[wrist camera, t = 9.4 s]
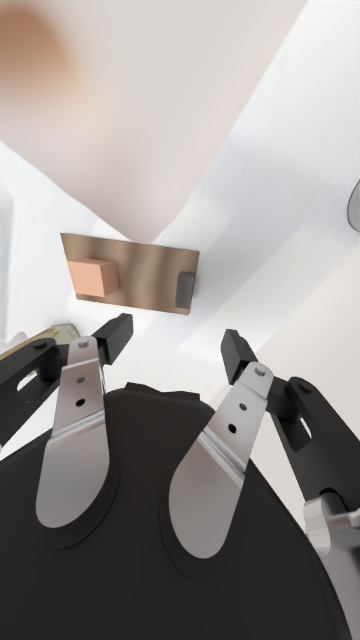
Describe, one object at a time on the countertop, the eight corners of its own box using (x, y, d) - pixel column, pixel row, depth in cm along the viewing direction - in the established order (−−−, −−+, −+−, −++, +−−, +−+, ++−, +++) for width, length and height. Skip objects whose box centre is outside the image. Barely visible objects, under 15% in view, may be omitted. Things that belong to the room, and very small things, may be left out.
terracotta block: (116, 262, 25) (99, 265, 20) (119, 289, 27) (104, 297, 22) (89, 258, 25) (67, 260, 20) (94, 285, 27) (75, 293, 23)
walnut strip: (198, 251, 23) (200, 252, 18) (188, 313, 29) (187, 327, 24) (64, 233, 24) (28, 229, 19) (79, 298, 29) (56, 308, 24)
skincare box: (72, 323, 33) (13, 359, 22) (81, 337, 35) (31, 377, 24) (50, 326, 34) (-16, 361, 23) (60, 340, 36) (3, 379, 25)
